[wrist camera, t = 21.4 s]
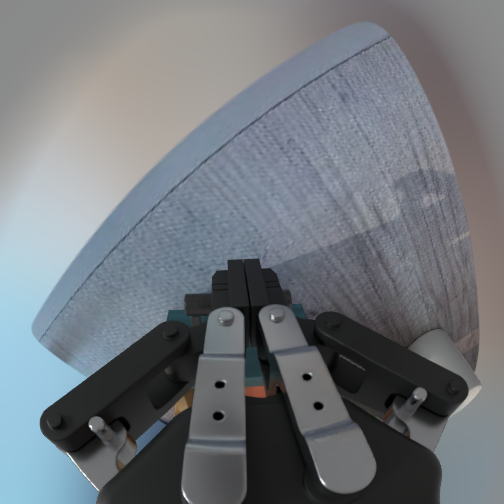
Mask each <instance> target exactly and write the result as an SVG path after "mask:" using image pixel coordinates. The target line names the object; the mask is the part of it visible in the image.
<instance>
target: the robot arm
mask: <svg viewBox="0 0 504 504" xmlns="http://www.w3.org/2000/svg"><path fill="white" fill-rule="evenodd" d="M249 337H250V345H251V348H252V347H257V363H258V367H259V371H260V374H261V378H262V382H263V386H264V390H265V394H266V397H265V398H259V397H251V396H245V359H246V348H249ZM341 355H343V356H345V357H347V358H348V359H350V360H352V361H353V362H355V363H357V364H359V365H360V366H362V367H363V368H364V369H365V371H366V372H365V371H364V370H362V369H360V368H358V367H357V366H355V365H353V364H351V363H350V362H348V361H346V360H345V359H343V358H341ZM194 385H195V389H194V397H193V405H192V406H191V407H189V408H187V409H185V410H183V411H182V412H180V413H179V414H178V415H176V416H175V417H174V418H173V419H172V420H171V421H170V422H169V423H168V424H167V425H166V426H165V427H164V428H163V429H162V430H161V431H160V432H159V433H158V434H157V435H156V436H155V437H154V438H153V439H152V440H151V441H150V442H149V443H148V444H147V445H146V446H145V447H144V448H143V449H142V450H141V451H140V452H139V453H138V454H137V455H136V456H135V454H136V451H137V444H136V441H135V440H137V439H138V438H139V437H140V436H141V435H142V434H143V433H144V432H145V431H147V430H148V429H149V428H150V427H151V426H152V425H153V424H154V423H155V422H156V421H158V420H159V419H160V418H161V417H162V416H163V415H164V414H165V413H166V412H167V411H168V410H169V409H170V408H172V407H173V406H174V405H175V404H176V403H177V402H178V401H179V400H180V399H181V398H182V397H183V396H184V395H185V394H186V393H187V392H188V391H189V390H190V389H191V388H192V387H193V386H194ZM468 393H469V388H468V385H467V383H466V381H465V380H464V379H463V378H462V377H461V376H460V375H458V374H456V373H454V372H452V371H450V370H448V369H446V368H444V367H442V366H440V365H438V364H436V363H434V362H432V361H430V360H428V359H426V358H424V357H422V356H421V355H419V354H417V353H415V352H413V351H411V350H409V349H407V348H405V347H403V346H401V345H399V344H397V343H395V342H393V341H392V340H390V339H388V338H386V337H384V336H382V335H380V334H378V333H376V332H374V331H372V330H370V329H369V328H367V327H365V326H363V325H361V324H359V323H357V322H355V321H353V320H351V319H350V318H348V317H346V316H344V315H342V314H340V313H337V312H324V313H321V314H320V315H318V316H317V318H316V320H309V319H303V318H299V317H297V316H295V314H294V312H293V311H292V310H291V309H290V308H288V307H287V305H286V302H285V299H284V296H283V293H282V289H281V287H280V283H279V280H278V277H277V274H276V273H275V272H274V271H273V270H272V269H271V268H265V269H261V265H260V261H259V259H244V261H243V259H238V260H228V270H221V271H216V273H215V274H214V275H213V277H212V302H211V313H210V314H209V316H208V319H207V320H206V321H205V322H204V323H202V324H200V325H197V326H193V327H190V328H188V326H187V325H186V324H185V323H183V322H181V321H176V320H171V321H166V322H163V323H161V324H159V325H158V326H157V327H155V328H154V329H153V330H151V331H150V332H149V333H147V334H146V335H145V336H143V337H142V338H141V339H139V340H138V341H137V342H135V343H134V344H133V345H131V346H130V347H129V348H127V349H126V350H125V351H123V352H122V353H121V354H119V355H118V356H117V357H115V358H114V359H113V360H111V361H110V362H109V363H107V364H106V365H105V366H103V367H102V368H101V369H99V370H98V371H97V372H95V373H94V374H93V375H91V376H90V377H89V378H87V379H86V380H85V381H83V382H82V383H81V384H79V385H78V386H77V387H75V388H74V389H73V390H71V391H70V392H69V393H67V394H66V395H65V396H63V397H62V398H60V399H59V400H58V401H56V402H55V403H54V404H53V405H51V406H50V407H48V408H47V409H46V410H45V411H44V412H43V414H42V416H41V418H40V429H41V431H42V433H43V435H44V436H45V437H46V438H48V439H49V440H50V441H51V442H52V443H53V444H55V445H56V447H57V448H58V449H60V450H61V451H62V452H63V453H65V454H66V455H67V456H68V457H69V458H70V459H71V460H72V461H73V463H74V464H75V465H76V467H77V468H78V469H79V470H80V472H81V473H82V474H83V475H84V476H85V478H86V479H87V480H88V481H89V482H90V483H91V484H92V486H93V487H94V488H95V489H96V490H97V491H98V492H99V495H98V497H97V502H96V504H440V487H441V479H442V469H441V465H440V462H439V460H438V459H437V457H436V455H435V454H434V453H433V452H434V450H435V448H436V446H437V444H438V442H439V439H440V437H441V435H442V433H443V430H444V428H445V425H446V423H447V420H448V418H449V417H450V416H451V415H452V414H453V412H454V411H455V410H456V409H457V408H458V407H459V406H460V405H461V404H462V403H463V402H464V401H465V399H466V398H467V396H468ZM340 395H341V396H342V397H341V396H340ZM363 409H364V410H363ZM366 411H367V412H366ZM368 412H369V413H368ZM370 413H371V414H372V415H371V414H370ZM373 415H374V416H376V417H377V418H376V417H374V416H373ZM378 418H379V419H381V420H383V422H382V421H381V420H379V419H378ZM134 456H135V457H134ZM133 457H134V458H133Z"/></svg>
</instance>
